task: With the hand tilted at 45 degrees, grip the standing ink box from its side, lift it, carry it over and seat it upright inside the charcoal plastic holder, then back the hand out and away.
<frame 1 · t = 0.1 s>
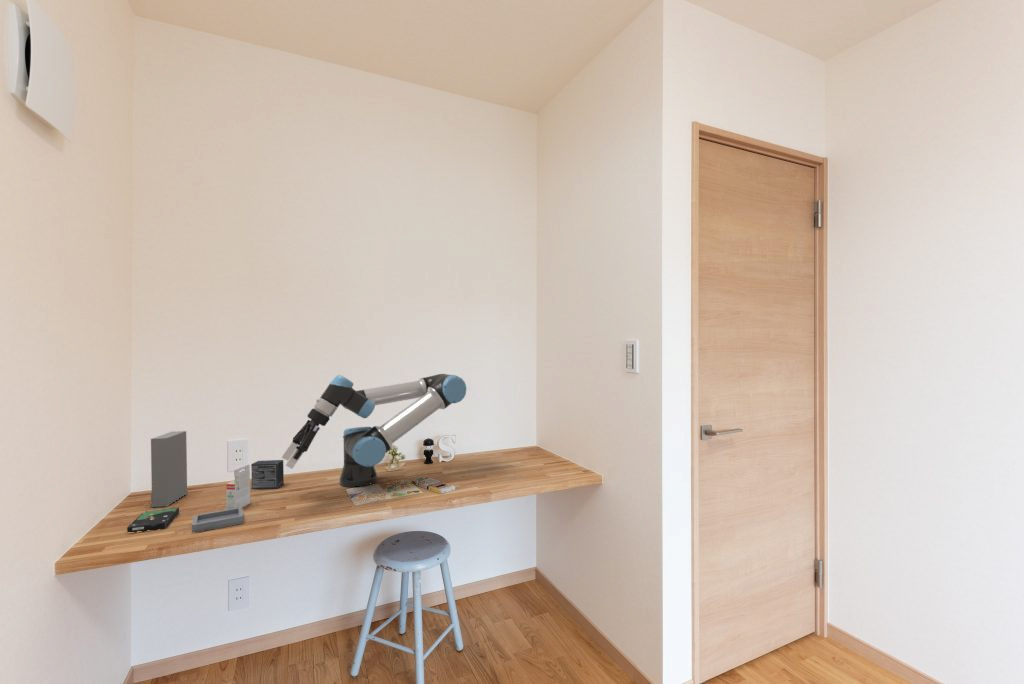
hand: (286, 462, 170), 15 cm above the table, tool tilted 35°, fingers open, 13 cm apart
disk drive: (154, 525, 154), on the table
small box: (268, 487, 191), on the table
holder: (218, 523, 153), on the table
ink box: (238, 508, 167), on the table
dark grey slab: (169, 501, 175), on the table
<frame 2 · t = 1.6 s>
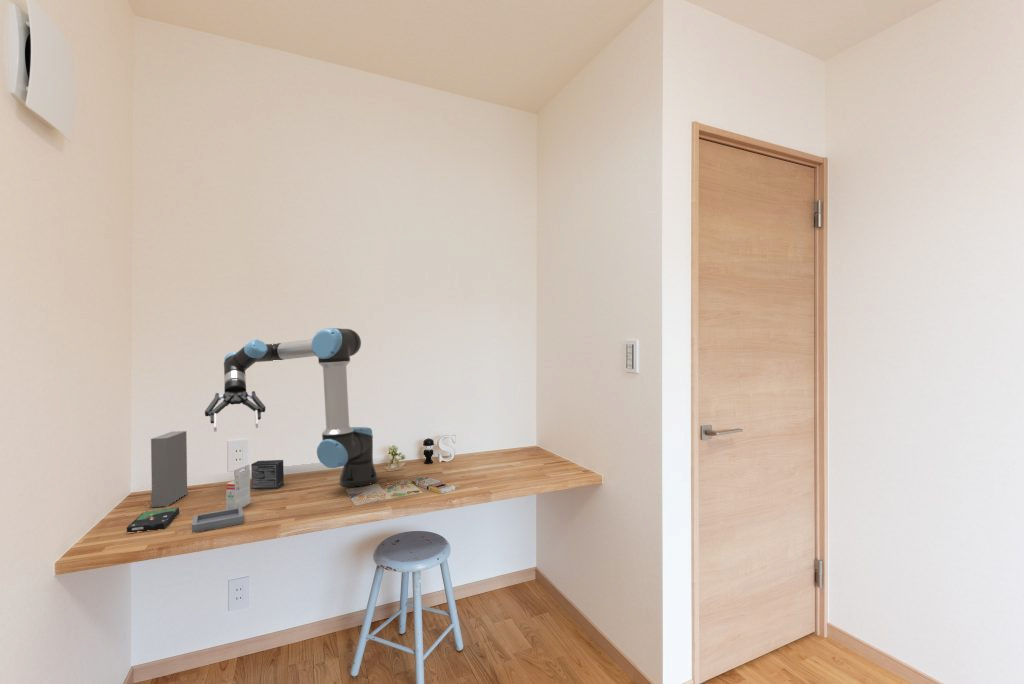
hand: (236, 427, 176), 27 cm above the table, tool tilted 45°, fingers open, 13 cm apart
nothing on the table moved.
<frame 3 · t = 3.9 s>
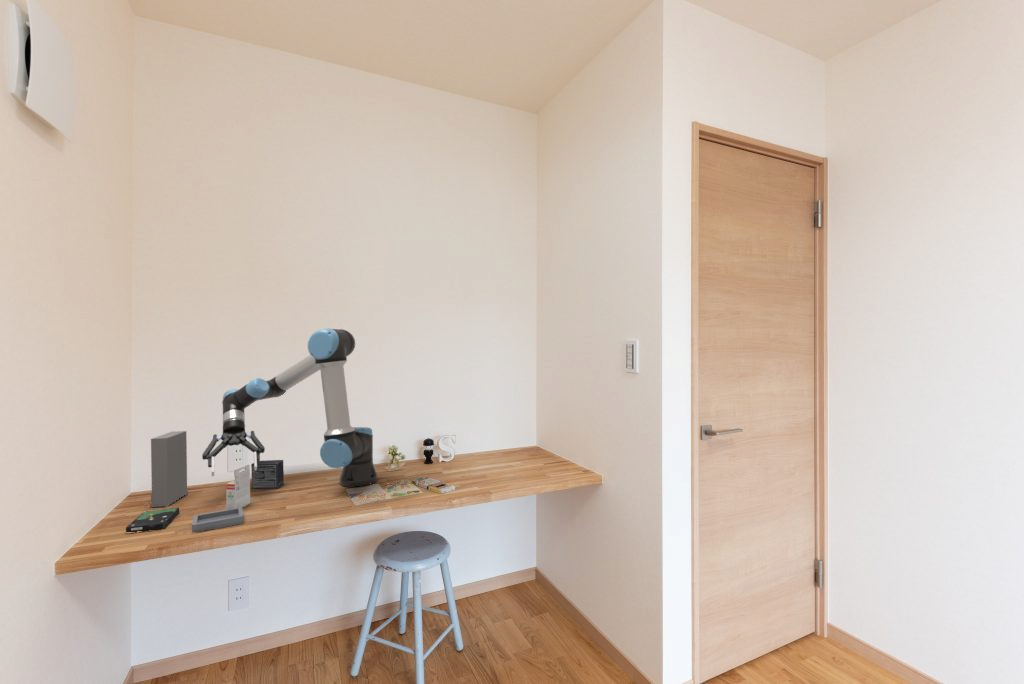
hand: (234, 471, 172), 12 cm above the table, tool tilted 45°, fingers open, 13 cm apart
nothing on the table moved.
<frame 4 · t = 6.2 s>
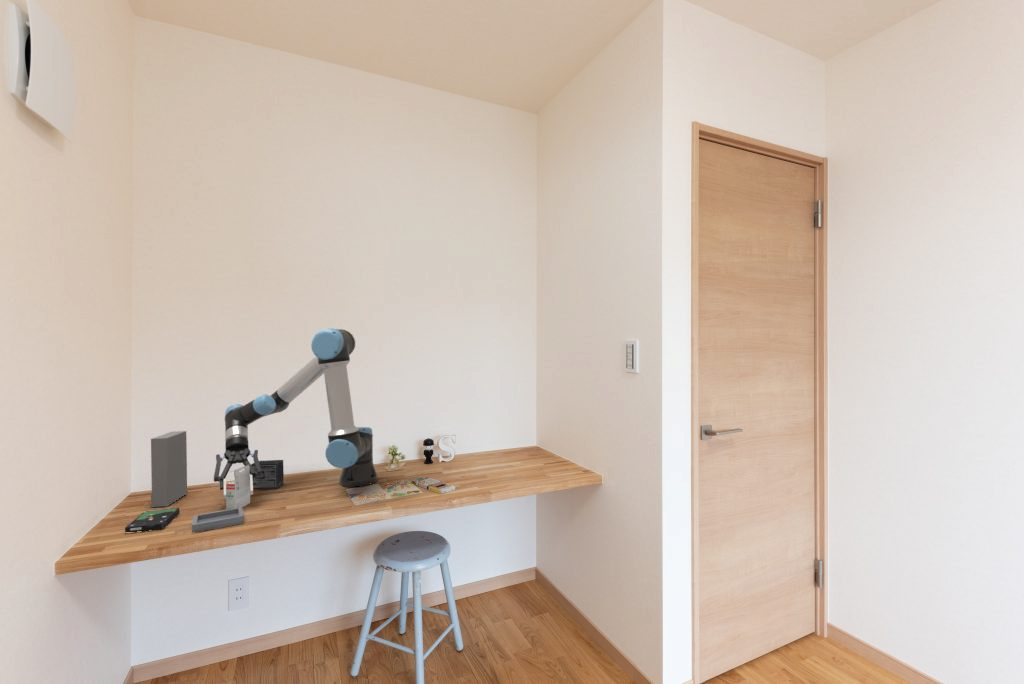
hand: (238, 494, 165), 6 cm above the table, tool tilted 45°, fingers closed on ink box, 7 cm apart
ink box: (238, 508, 167), on the table, touching gripper
everything else where it was.
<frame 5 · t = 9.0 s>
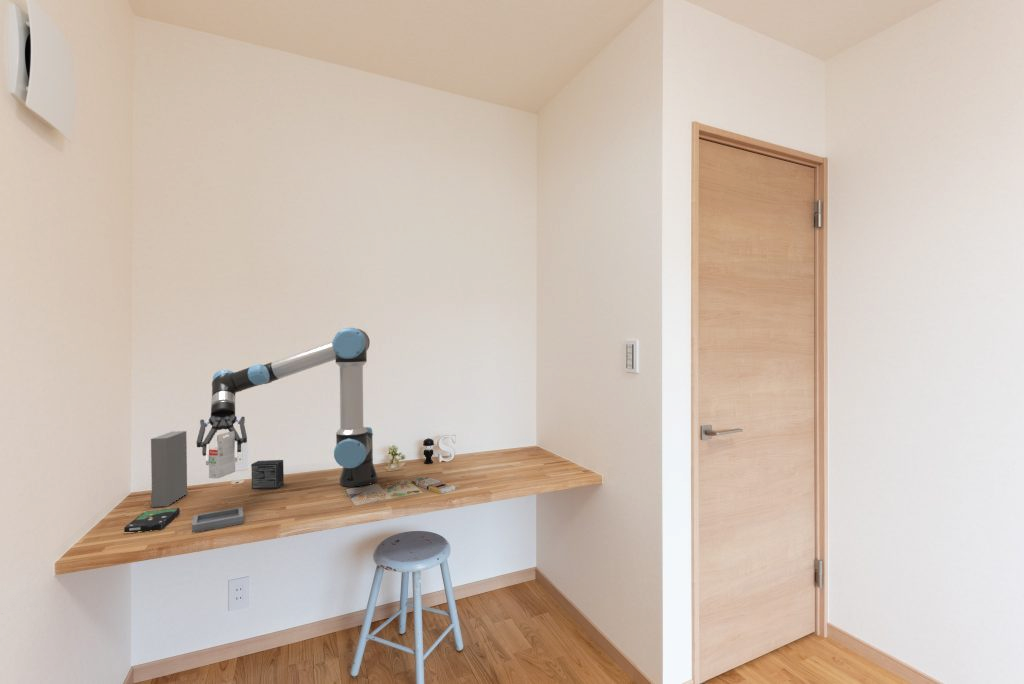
hand: (221, 461, 156), 20 cm above the table, tool tilted 45°, fingers closed on ink box, 7 cm apart
ink box: (222, 475, 160), point 14 cm above the table, touching gripper
everything else where it was.
when the fingers open (8 cm above the table, at t = 12.0 s): ink box stays where it is, resting on holder.
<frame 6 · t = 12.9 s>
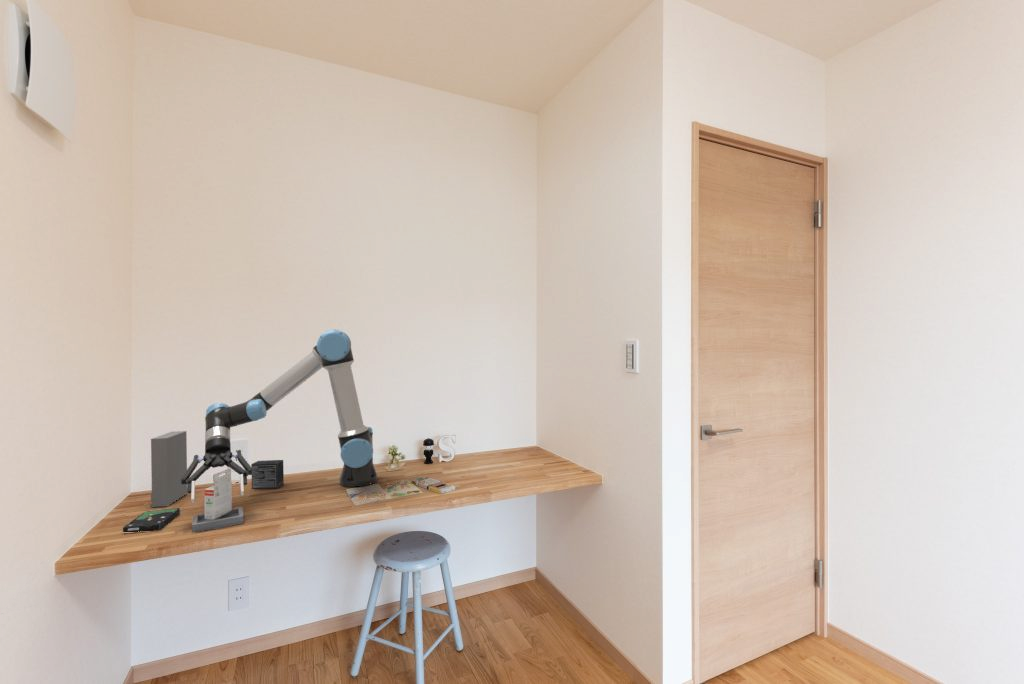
hand: (218, 497, 151), 9 cm above the table, tool tilted 45°, fingers open, 13 cm apart
ink box: (218, 516, 153), point 2 cm above the table, touching holder
everything else where it was.
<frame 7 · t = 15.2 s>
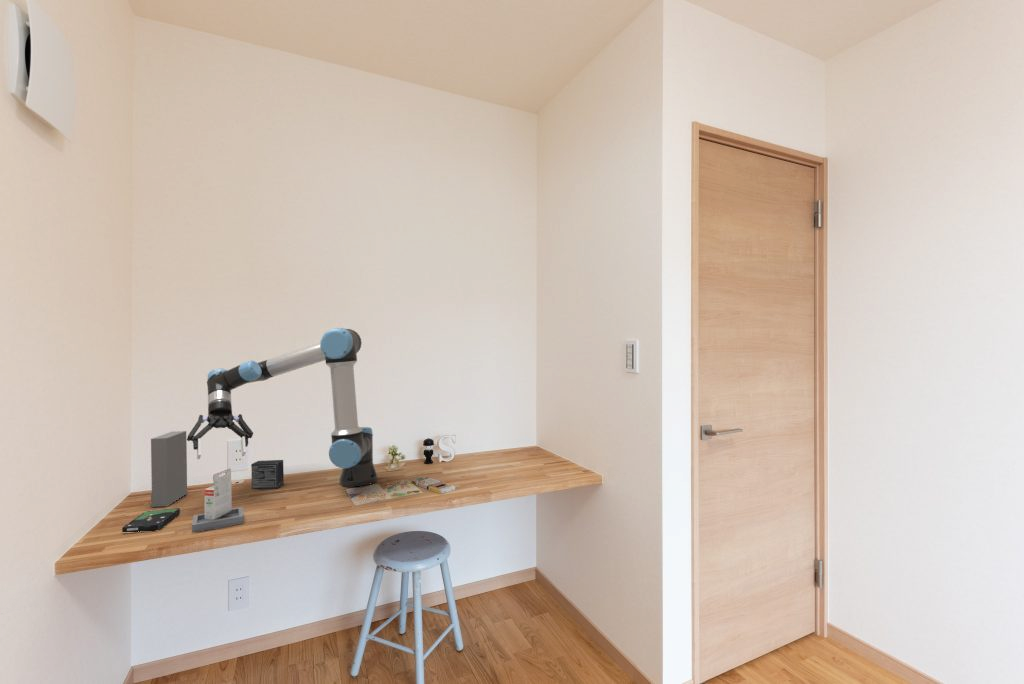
hand: (222, 455, 164), 20 cm above the table, tool tilted 40°, fingers open, 13 cm apart
nothing on the table moved.
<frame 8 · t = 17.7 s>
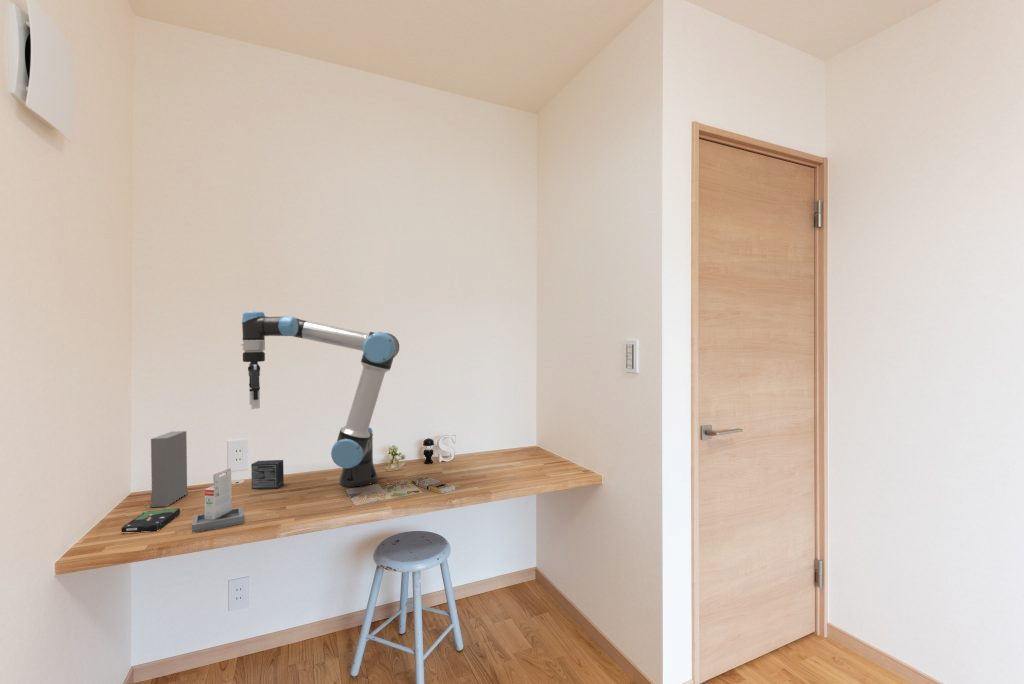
hand: (254, 406, 180), 35 cm above the table, tool pointing down, fingers open, 13 cm apart
nothing on the table moved.
at the end: ink box 0.1 cm off-centre on the holder, point 2.3 cm above the holder's base; ink box tilted 0°; the gripper is holding nothing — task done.
